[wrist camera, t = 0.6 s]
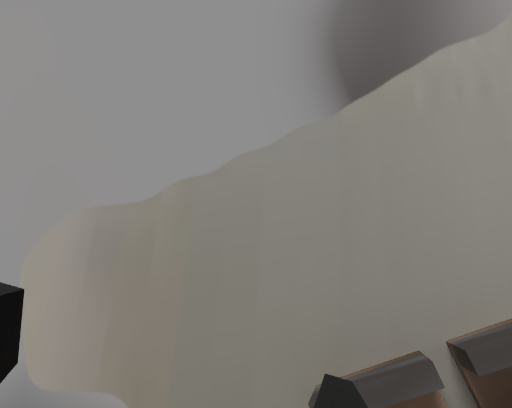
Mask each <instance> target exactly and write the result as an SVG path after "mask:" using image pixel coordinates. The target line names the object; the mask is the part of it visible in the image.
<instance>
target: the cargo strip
mask: <svg viewBox="0 0 512 408" xmlns="http://www.w3.org/2000/svg"><path fill="white" fill-rule="evenodd" d="M341 378H342V379H346V380H349V381H352V382H353V384H354V385H355V387H356V389H357V390H358V392H359V393H360V395H361V397H362V398H363V400H364V402H365V403H366V405H367V407H368V408H447V406H446V404H445V402H444V400H443V398H442V396H441V394H440V392H439V390H440V389H443V388H445V387H444V385H443V383H442V381H441V379H440V377H439V375H438V372H437V370H436V368H435V366H434V364H433V362H432V361H431V360H430V359H429V358H427V357H426V356H425V355H424V354H422V353H421V352H420V351H416V352H413V353H411V354H408V355H405V356H402V357H399V358H396V359H393V360H390V361H387V362H384V363H381V364H379V365H376V366H373V367H370V368H367V369H364V370H361V371H358V372H355V373H352V374H349V375H347V376H344V377H341ZM320 387H321V384H320V385H317V386H316V388H315V390H314V392H313V394H312V396H311V398H310V401H309V403H308V404H309V407H310V408H314V405H315V402H316V399H317V396H318V393H319V390H320Z"/></svg>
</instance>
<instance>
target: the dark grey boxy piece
mask: <svg viewBox="0 0 512 408" xmlns="http://www.w3.org/2000/svg"><path fill="white" fill-rule="evenodd" d="M446 342H447V344H448V346H449V348H450V350H451V352H452V354H453V357H454V359H455V361H456V363H457V365H458V367H459V369H460V371H461V373H462V375H463V377H464V379H465V381H466V383H467V385H468V387H469V389H470V391H471V393H472V395H473V397H474V399H475V401H476V403H477V405H478V407H479V408H512V319H509V320H507V321H504V322H501V323H498V324H495V325H492V326H489V327H486V328H483V329H480V330H477V331H475V332H472V333H469V334H466V335H463V336H460V337H457V338H454V339H451V340H448V341H446Z"/></svg>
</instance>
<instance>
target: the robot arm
mask: <svg viewBox="0 0 512 408" xmlns="http://www.w3.org/2000/svg"><path fill="white" fill-rule="evenodd" d="M23 298H24V289H22V288H18V287H15V286H11V285H7V284H4V283H0V383H1V382H2V381H3V380H4V378H5V377H6V376H7V375H8V373H9V372H10V371H11V370H12V369H13V368H14V366H15V365H16V364H17V363H18V353H19V341H20V331H21V320H22V309H23ZM314 408H368V407H367V405H366V403H365V402H364V400H363V398H362V397H361V395H360V393H359V392H358V390H357V389H356V387H355V385H354V384H353V382H352V381H349V380H346V379H342V378H339V377H335V376H332V375H328V374H325V375H324V378H323V381H322V384H321V387H320V390H319V393H318V396H317V399H316V402H315V405H314Z"/></svg>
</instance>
